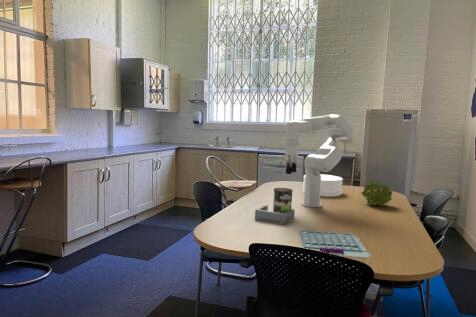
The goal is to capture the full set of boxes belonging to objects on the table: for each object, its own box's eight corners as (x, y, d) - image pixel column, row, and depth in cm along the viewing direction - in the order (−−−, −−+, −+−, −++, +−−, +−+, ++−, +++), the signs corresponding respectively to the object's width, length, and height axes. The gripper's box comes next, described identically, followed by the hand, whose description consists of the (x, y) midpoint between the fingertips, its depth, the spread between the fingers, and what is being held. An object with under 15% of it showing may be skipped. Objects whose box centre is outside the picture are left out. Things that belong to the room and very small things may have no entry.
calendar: (357, 237, 169) (358, 232, 169) (375, 260, 141) (375, 254, 141) (299, 233, 171) (299, 228, 171) (305, 255, 143) (305, 249, 143)
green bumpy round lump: (382, 194, 243) (397, 182, 230) (382, 214, 234) (398, 202, 221) (358, 185, 242) (372, 172, 229) (357, 204, 232) (372, 192, 219)
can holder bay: (265, 213, 202) (265, 204, 201) (294, 218, 194) (294, 209, 194) (254, 219, 190) (255, 209, 189) (285, 224, 182) (286, 214, 182)
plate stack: (295, 189, 274) (296, 174, 273) (325, 187, 286) (326, 173, 285) (318, 197, 249) (319, 181, 248) (349, 195, 261) (350, 179, 260)
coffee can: (294, 216, 198) (295, 191, 196) (276, 217, 195) (277, 191, 194) (286, 211, 208) (288, 187, 206) (269, 212, 205) (271, 187, 204)
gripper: (291, 141, 217) (289, 170, 219) (281, 143, 202) (279, 174, 204) (303, 142, 214) (301, 171, 216) (294, 144, 198) (292, 175, 200)
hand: (291, 172), depth 210 cm, fingers open, 7 cm apart
